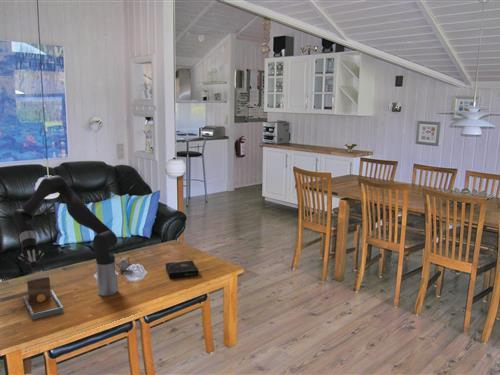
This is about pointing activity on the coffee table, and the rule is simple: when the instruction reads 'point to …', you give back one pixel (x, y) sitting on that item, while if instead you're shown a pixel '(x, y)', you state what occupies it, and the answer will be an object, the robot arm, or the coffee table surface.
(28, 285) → the board
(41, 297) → the ball
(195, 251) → the coffee table surface
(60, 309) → the blue-grey rectangular frame
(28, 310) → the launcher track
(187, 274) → the portable cd player
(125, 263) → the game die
